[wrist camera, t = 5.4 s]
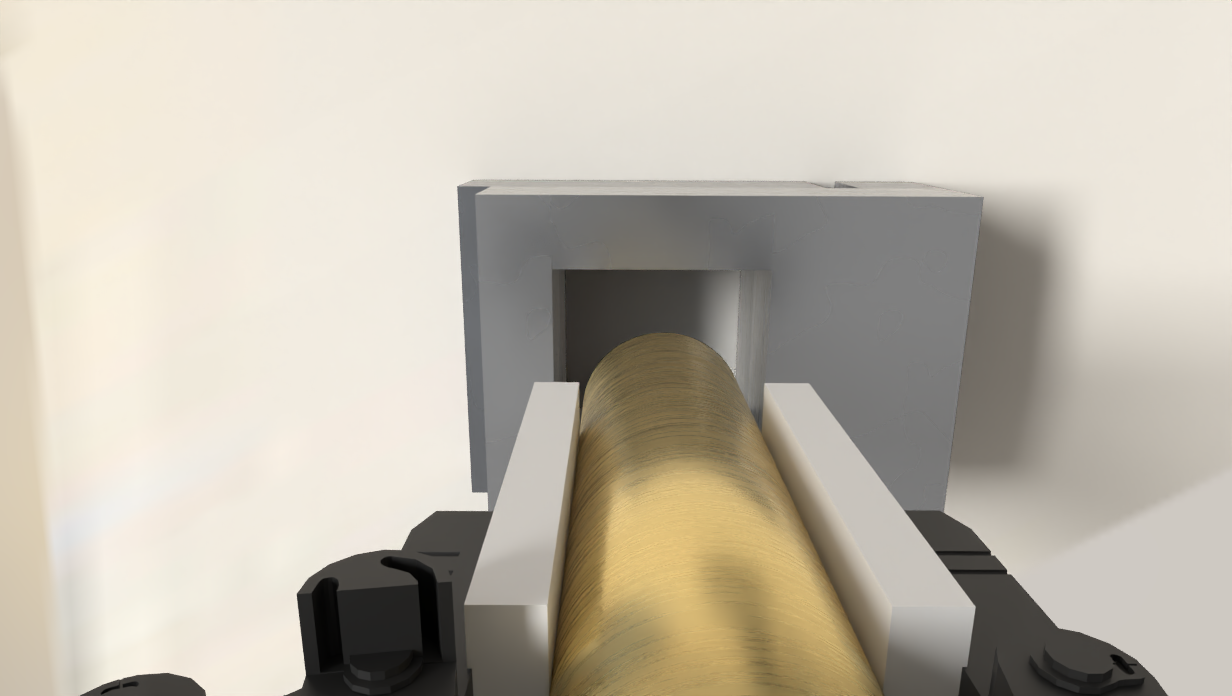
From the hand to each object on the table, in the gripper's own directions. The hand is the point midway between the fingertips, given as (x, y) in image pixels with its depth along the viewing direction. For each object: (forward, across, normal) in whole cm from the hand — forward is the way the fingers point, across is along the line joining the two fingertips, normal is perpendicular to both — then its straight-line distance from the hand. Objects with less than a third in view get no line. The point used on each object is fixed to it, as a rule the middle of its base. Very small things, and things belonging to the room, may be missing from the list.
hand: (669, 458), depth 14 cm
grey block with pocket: (+9, +1, 0) cm, 9 cm away
